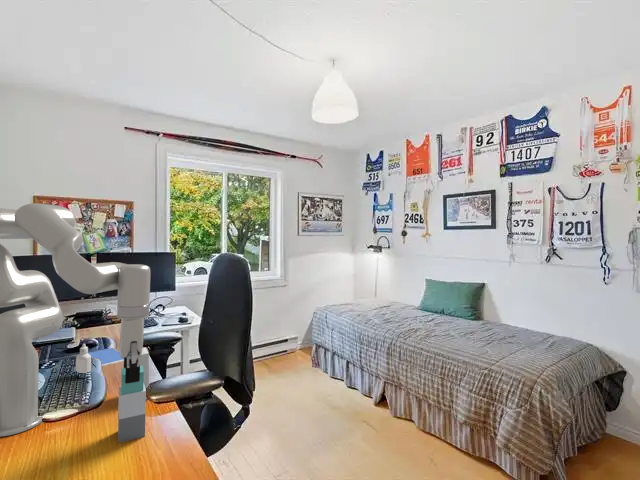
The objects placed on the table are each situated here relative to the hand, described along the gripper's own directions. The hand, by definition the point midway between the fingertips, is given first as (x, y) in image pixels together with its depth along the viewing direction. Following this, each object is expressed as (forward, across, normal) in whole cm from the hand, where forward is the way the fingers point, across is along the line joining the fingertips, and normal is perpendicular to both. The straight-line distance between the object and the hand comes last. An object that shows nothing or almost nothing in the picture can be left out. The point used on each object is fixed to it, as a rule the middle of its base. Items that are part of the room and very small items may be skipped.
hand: (131, 375), depth 92 cm
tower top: (+10, 0, 0) cm, 10 cm away
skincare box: (+16, -23, +4) cm, 28 cm away
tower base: (+16, 0, 0) cm, 16 cm away
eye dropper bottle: (+16, -50, -12) cm, 54 cm away
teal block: (+4, 0, 0) cm, 4 cm away
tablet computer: (+17, -68, -6) cm, 71 cm away
